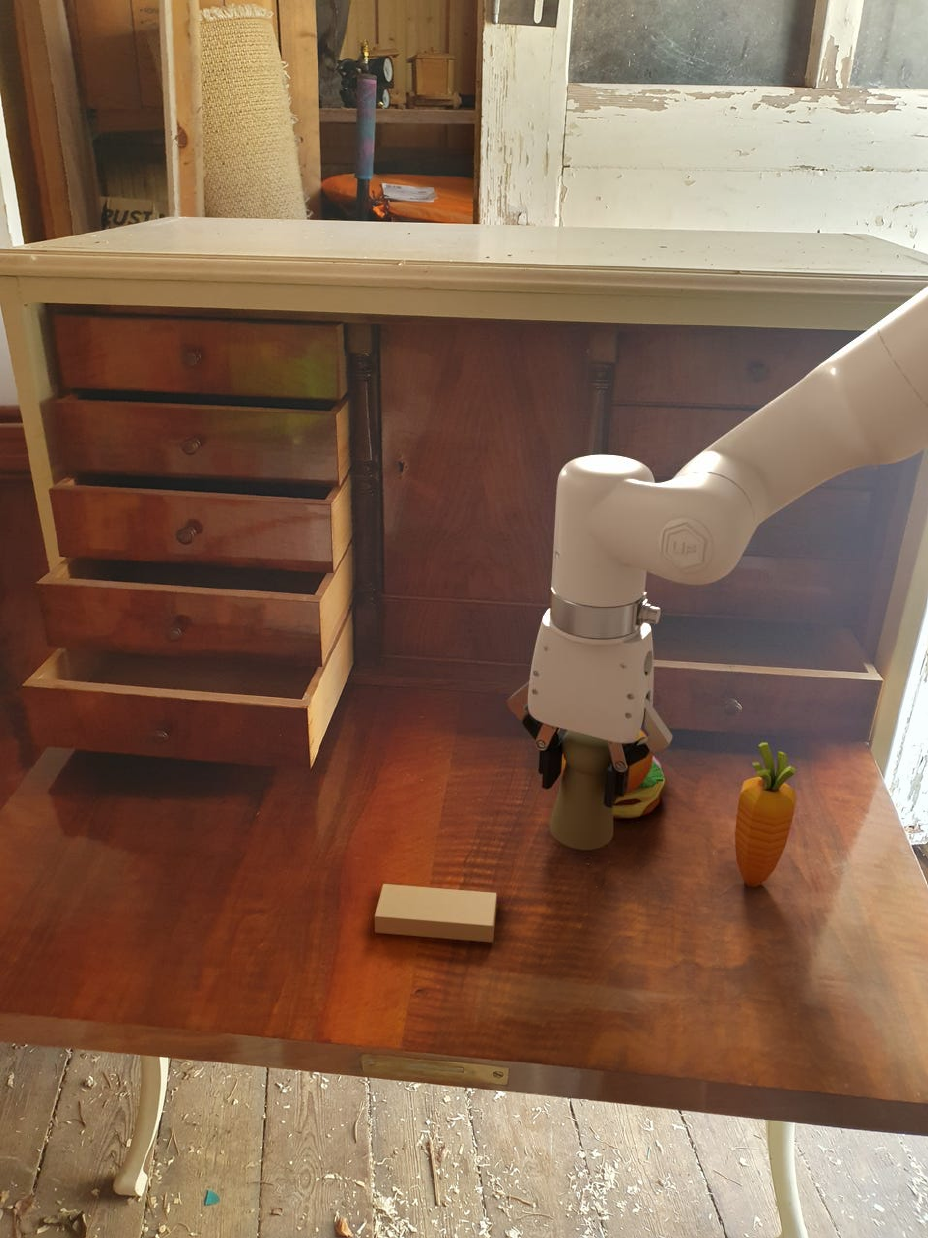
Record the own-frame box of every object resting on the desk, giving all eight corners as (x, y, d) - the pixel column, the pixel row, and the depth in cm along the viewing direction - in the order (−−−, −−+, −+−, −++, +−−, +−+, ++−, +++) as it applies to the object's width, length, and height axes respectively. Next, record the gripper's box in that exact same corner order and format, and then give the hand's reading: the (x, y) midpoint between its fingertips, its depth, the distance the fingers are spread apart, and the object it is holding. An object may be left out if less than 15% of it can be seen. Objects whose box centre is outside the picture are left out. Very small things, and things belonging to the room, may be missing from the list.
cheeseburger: (689, 799, 99) (685, 728, 94) (617, 860, 95) (609, 790, 89) (617, 754, 106) (609, 685, 101) (547, 809, 102) (535, 740, 96)
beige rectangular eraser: (496, 914, 85) (496, 892, 83) (492, 948, 81) (493, 926, 80) (383, 905, 85) (383, 883, 84) (375, 938, 82) (374, 916, 81)
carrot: (786, 907, 86) (815, 767, 79) (731, 906, 86) (755, 767, 79) (770, 869, 90) (796, 734, 84) (717, 869, 90) (739, 734, 84)
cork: (547, 845, 89) (557, 747, 84) (551, 805, 94) (560, 709, 89) (613, 853, 88) (627, 754, 83) (613, 812, 93) (626, 716, 88)
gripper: (710, 611, 79) (685, 793, 87) (517, 573, 85) (511, 745, 93) (687, 650, 72) (663, 842, 81) (482, 605, 79) (478, 786, 87)
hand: (581, 788), depth 87 cm, fingers closed on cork, 5 cm apart
